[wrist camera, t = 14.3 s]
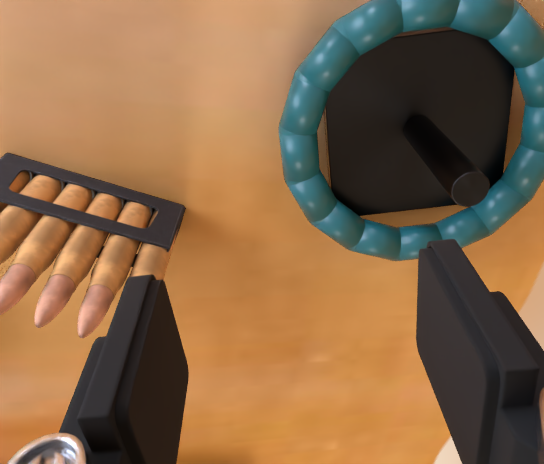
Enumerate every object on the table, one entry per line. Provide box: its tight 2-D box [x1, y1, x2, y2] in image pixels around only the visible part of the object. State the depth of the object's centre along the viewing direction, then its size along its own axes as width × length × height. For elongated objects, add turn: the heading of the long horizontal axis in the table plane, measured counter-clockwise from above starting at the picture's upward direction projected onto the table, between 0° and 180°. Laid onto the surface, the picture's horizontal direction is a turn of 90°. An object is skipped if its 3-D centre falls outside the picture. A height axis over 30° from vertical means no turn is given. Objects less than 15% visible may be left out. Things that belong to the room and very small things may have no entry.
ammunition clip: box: [0, 153, 186, 338], centre depth 26 cm, size 11×2×12 cm, turn 70°
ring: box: [279, 0, 544, 261], centre depth 28 cm, size 15×15×2 cm
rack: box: [324, 27, 515, 216], centre depth 25 cm, size 10×10×9 cm
